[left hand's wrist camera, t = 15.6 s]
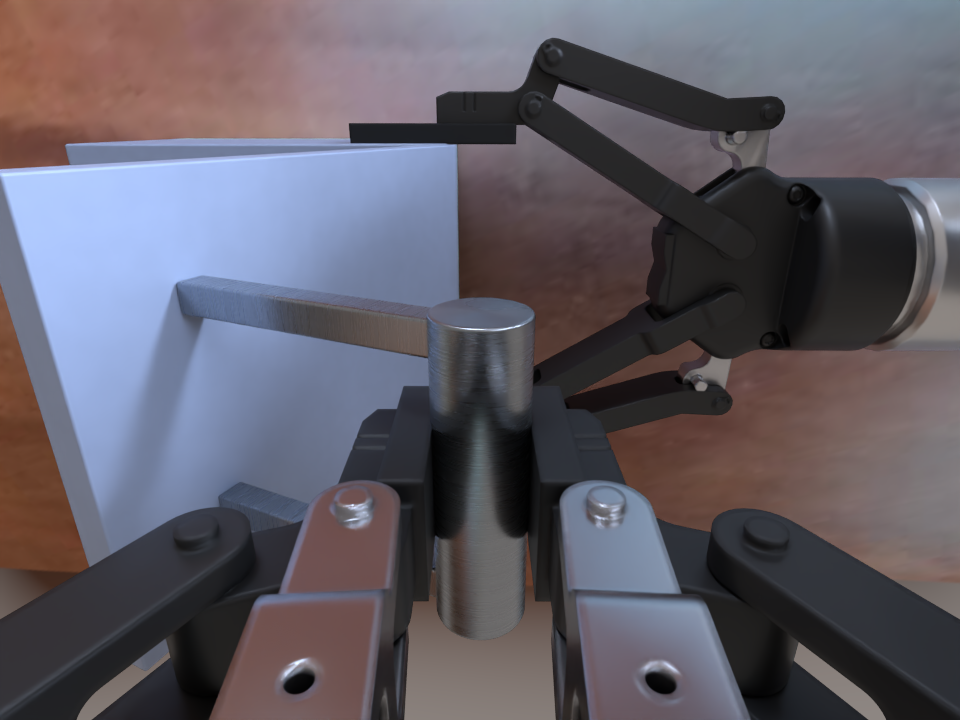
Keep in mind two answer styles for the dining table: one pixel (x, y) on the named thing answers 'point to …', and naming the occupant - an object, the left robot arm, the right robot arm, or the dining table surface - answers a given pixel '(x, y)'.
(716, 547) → the left robot arm
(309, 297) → the grey box lid
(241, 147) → the chest
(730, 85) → the dining table surface
